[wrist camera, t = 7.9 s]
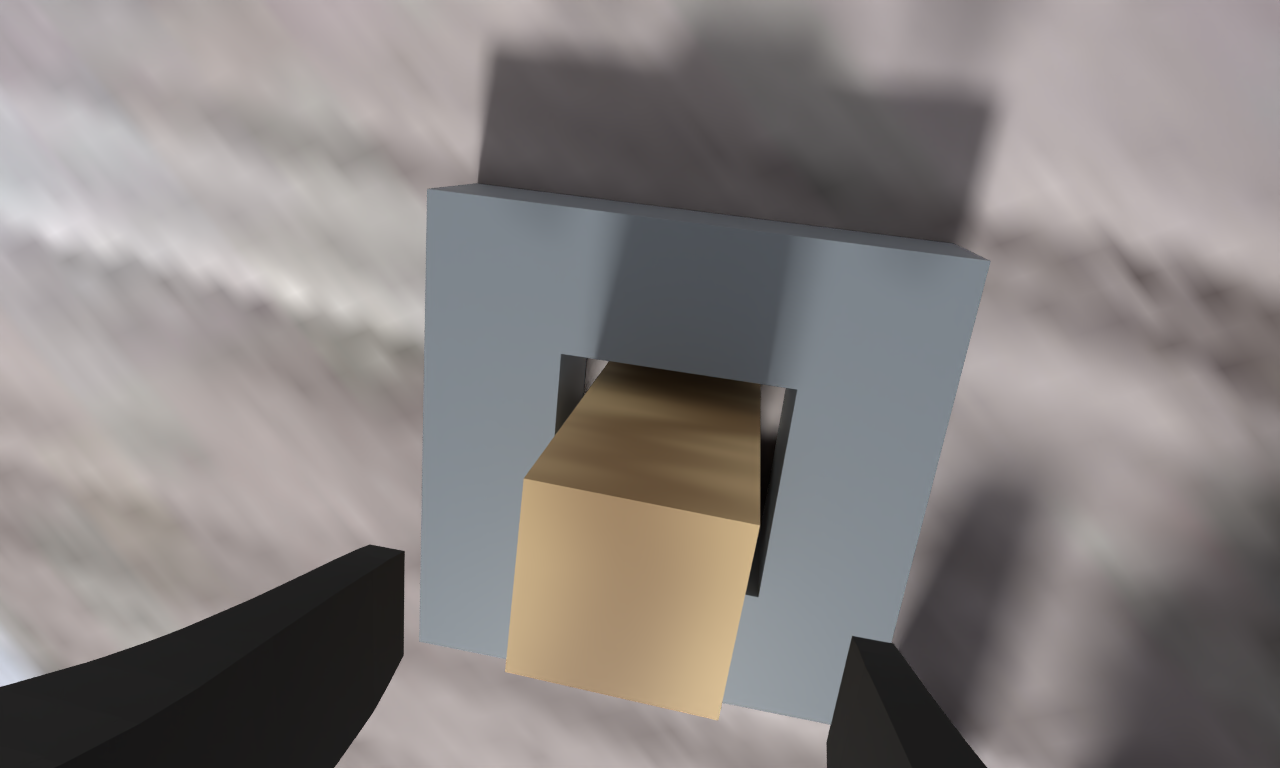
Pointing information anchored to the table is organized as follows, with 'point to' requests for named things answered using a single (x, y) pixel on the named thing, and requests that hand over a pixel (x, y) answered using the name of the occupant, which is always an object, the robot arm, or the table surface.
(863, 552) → the socket plate
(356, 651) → the robot arm
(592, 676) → the square peg
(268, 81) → the table surface
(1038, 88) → the table surface
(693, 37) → the table surface
